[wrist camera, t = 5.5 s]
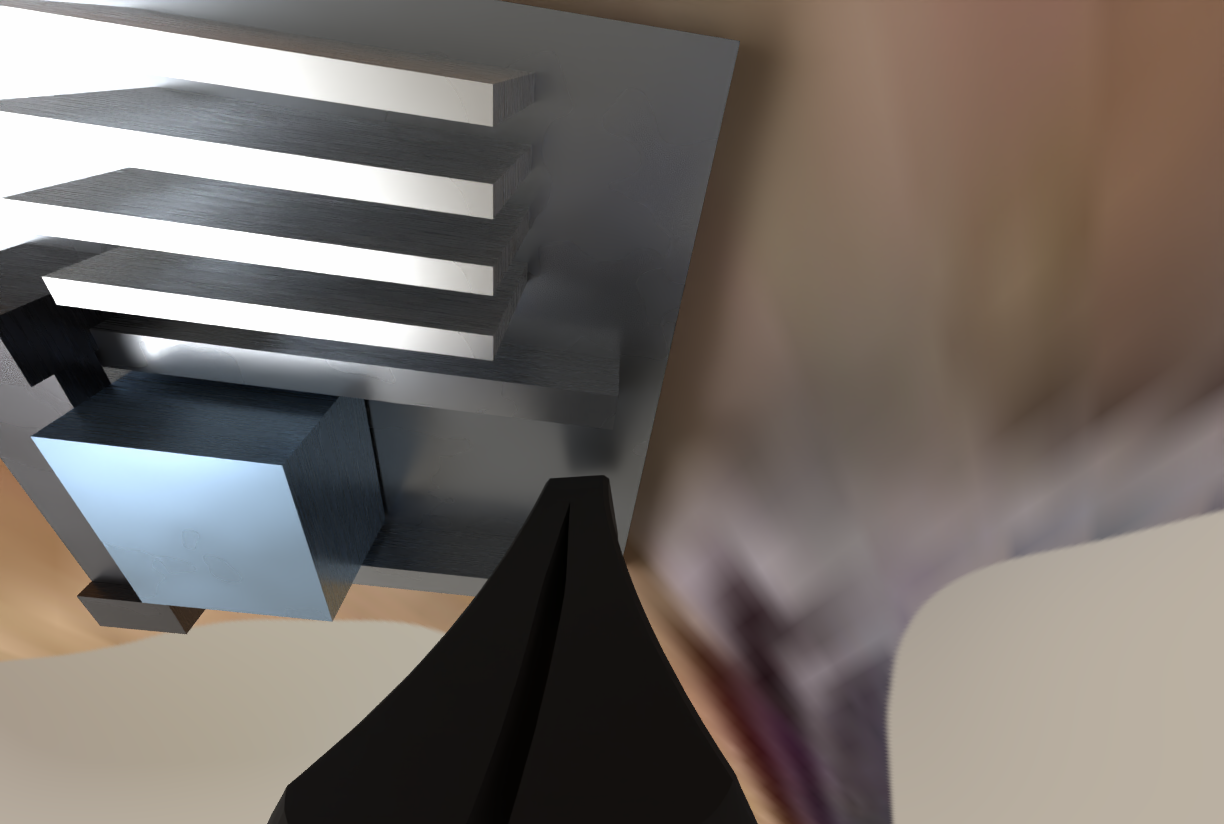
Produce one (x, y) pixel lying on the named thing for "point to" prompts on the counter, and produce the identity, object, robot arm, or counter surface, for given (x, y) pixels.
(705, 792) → the robot arm
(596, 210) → the heatsink base
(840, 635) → the counter surface
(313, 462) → the blue-grey rectangular block
